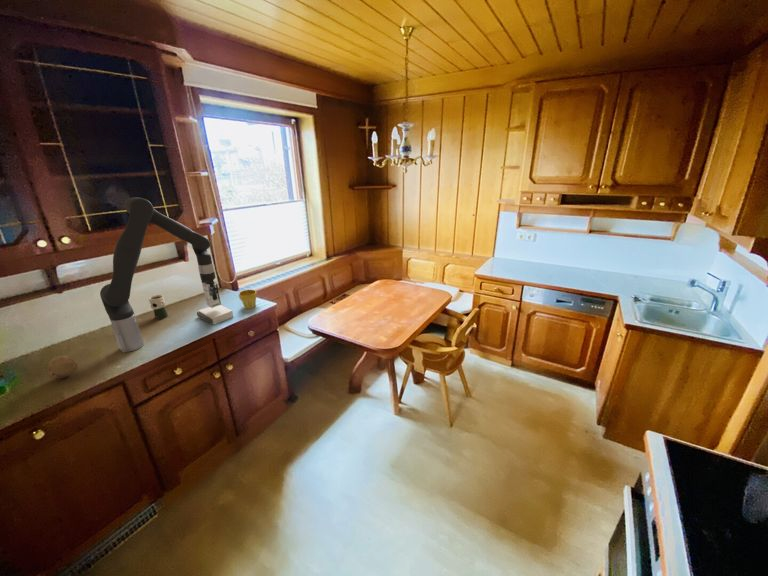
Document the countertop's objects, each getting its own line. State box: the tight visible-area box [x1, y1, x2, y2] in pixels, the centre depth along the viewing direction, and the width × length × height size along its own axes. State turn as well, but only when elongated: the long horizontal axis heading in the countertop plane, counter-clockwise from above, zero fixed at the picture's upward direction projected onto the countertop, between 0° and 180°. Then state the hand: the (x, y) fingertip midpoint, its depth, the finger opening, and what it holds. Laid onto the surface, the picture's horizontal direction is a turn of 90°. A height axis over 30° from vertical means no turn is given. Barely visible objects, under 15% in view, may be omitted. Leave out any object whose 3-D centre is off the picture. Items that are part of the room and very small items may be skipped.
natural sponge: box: [46, 355, 78, 379], centre depth 134 cm, size 9×9×10 cm
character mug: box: [148, 294, 168, 320], centre depth 184 cm, size 11×7×13 cm, turn 68°
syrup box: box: [201, 280, 222, 308], centre depth 183 cm, size 6×6×14 cm
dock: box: [196, 304, 234, 325], centre depth 187 cm, size 13×16×4 cm
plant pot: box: [238, 289, 258, 309], centre depth 200 cm, size 10×10×10 cm
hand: (212, 298), depth 184 cm, fingers closed on syrup box, 6 cm apart
